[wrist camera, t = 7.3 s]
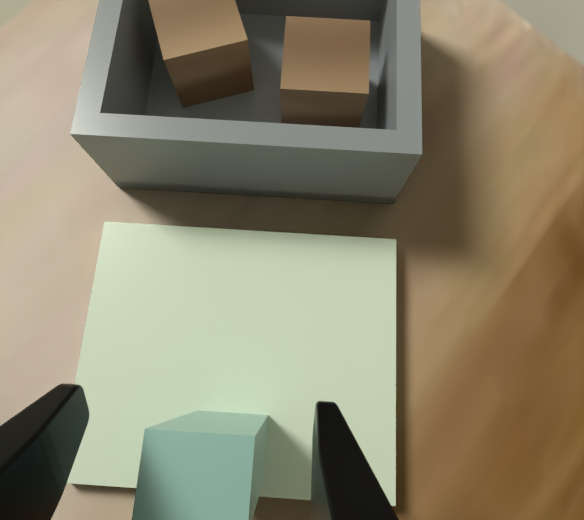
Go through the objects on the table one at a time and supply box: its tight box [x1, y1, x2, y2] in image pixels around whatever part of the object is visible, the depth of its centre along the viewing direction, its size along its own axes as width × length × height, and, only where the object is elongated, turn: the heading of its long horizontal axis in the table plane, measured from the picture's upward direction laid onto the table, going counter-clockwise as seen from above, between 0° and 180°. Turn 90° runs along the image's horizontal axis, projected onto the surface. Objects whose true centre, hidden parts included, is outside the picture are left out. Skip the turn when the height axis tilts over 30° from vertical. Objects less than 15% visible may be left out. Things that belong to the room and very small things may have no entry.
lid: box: [67, 222, 396, 520], centre depth 13 cm, size 9×11×6 cm
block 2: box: [280, 16, 370, 128], centre depth 17 cm, size 3×3×3 cm
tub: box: [70, 0, 422, 204], centre depth 17 cm, size 9×11×4 cm
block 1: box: [148, 0, 254, 108], centre depth 17 cm, size 3×3×3 cm
